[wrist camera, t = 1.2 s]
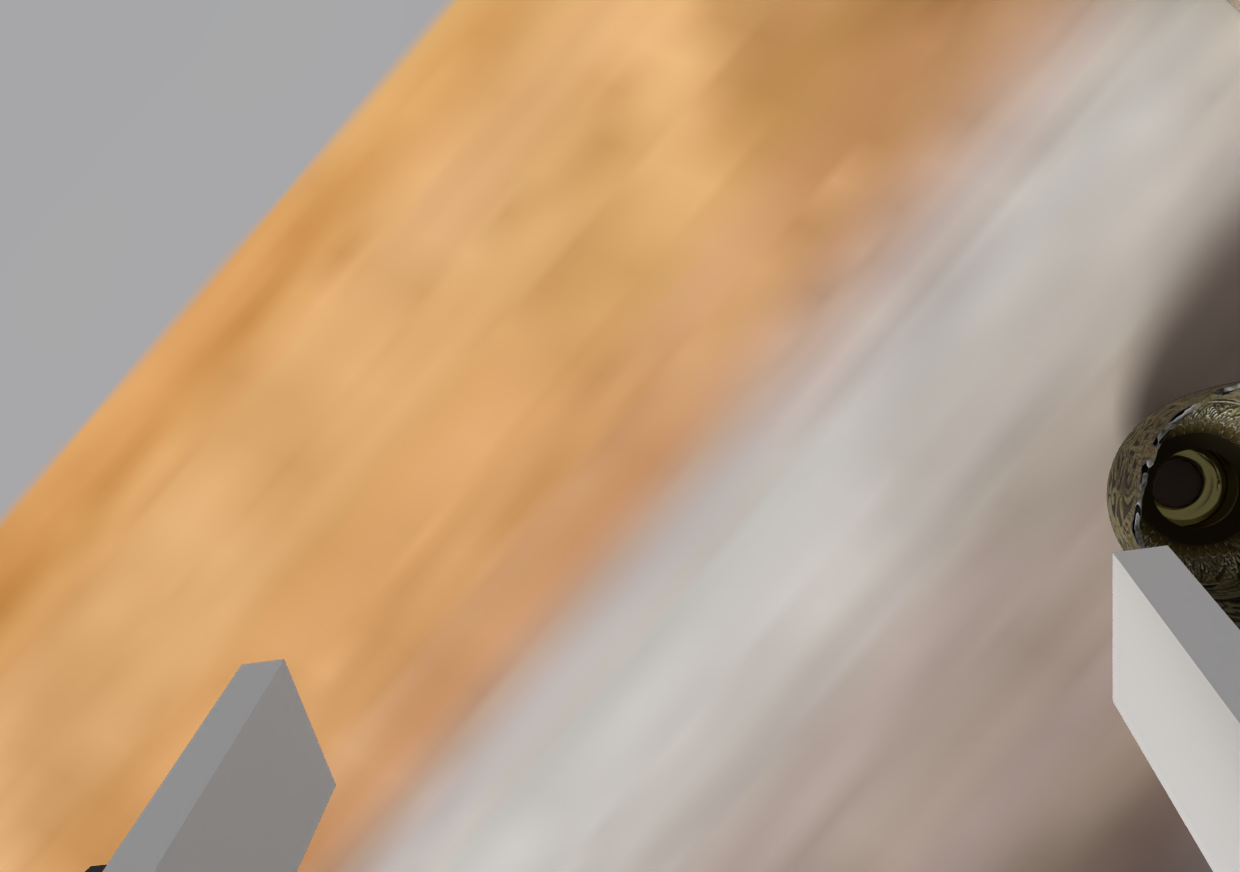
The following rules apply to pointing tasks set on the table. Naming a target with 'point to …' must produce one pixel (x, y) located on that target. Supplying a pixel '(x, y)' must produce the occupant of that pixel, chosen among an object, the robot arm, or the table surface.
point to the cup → (1216, 520)
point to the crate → (1235, 3)
